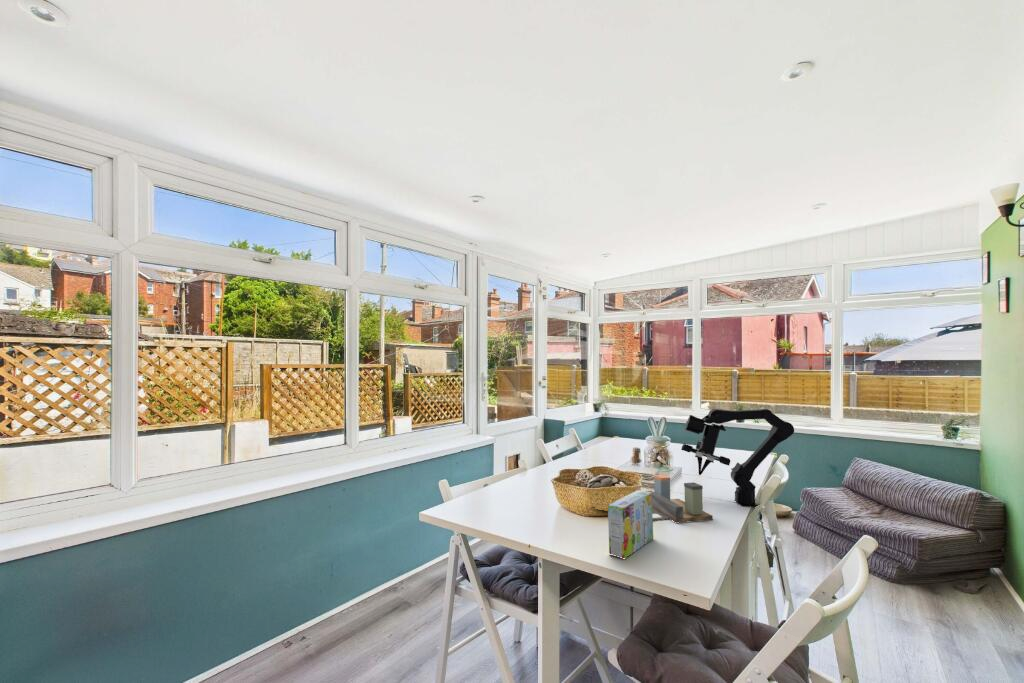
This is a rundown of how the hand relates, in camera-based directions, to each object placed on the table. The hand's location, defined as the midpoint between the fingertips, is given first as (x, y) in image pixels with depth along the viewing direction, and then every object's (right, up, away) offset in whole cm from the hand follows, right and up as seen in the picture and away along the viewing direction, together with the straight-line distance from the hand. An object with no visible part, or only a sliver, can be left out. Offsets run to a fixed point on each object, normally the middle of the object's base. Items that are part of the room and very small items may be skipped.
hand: (699, 474), depth 190 cm
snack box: (-40, -9, -46) cm, 62 cm away
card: (-25, -11, -15) cm, 31 cm away
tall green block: (-10, -9, -19) cm, 23 cm away
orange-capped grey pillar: (-17, -9, -6) cm, 21 cm away
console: (-14, -11, -13) cm, 22 cm away
